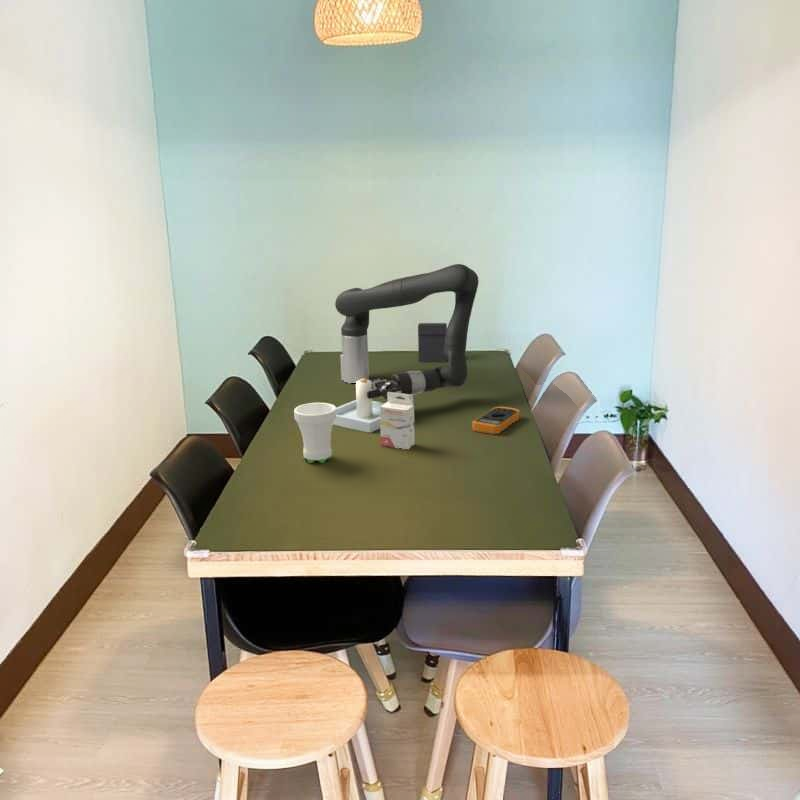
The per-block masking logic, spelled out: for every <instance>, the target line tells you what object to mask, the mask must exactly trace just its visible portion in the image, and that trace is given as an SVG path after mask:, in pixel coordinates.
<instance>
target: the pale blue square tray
mask: <svg viewBox="0 0 800 800" xmlns="http://www.w3.org/2000/svg"><path fill="white" fill-rule="evenodd" d="M385 403H386V402H381V401H374V400H372V410H373V416H372V417H371V418H367V419H361V418H358V417H357V402H356V399H355V400H351V401H350V402H347V403H344V404H341V405H340V406H338V407H337V406H336V418H335V420H334V423H333V426H338V427H342V428H346V429H351V430H354V431H355V430H356V431H361V432H363V433H364V432H366V433H368V432H369V433H368V434H370V433H373V432H375V431H377V430H380V429H381V424H380V406H382V405H383V404H385Z"/></svg>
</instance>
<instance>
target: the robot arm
mask: <svg viewBox="0 0 800 800" xmlns="http://www.w3.org/2000/svg"><path fill="white" fill-rule="evenodd" d="M478 288H479V276H478V274H477V273H476V272H475V270H473V269H472V268H470V267H469V266H467V265H465V264H461V263H455V264H452V265H447V266H446V267H443V268H440V269H437V270H435V271H434V270H433V271H431V272H427V273H426V272H425V273H420V274H419V273H418V274H415V275H411V276H410V275H409V276H405V277H400V278H396V279H392V280H389V281H386V282H383V283H380V284H378V285H375V286H372V287H369V288H366V289H362V288H360V287H354V288H349V289H347V290H344V291H342V292H341V293H339V294H338V296H337V297H336V299H335V305H334V306H335V310H336V311H337V312H338V313H339V314H340V315H341V316H344V317H345V320H344V323H343V324H342V326H341V328H340V331H341V333H340V334H341V348H342V349H341V351H342V352H341V353H342V354H340V377H341V379H340V380H341V381H342V380H343V381H342V382H344V383H346V382H347V383H346V384H351V383H356V381H358V380H360V379H362V378H365V379H367V380H370V381H371V382H372V391H368V392H367V398H369V399H371V398H372V399H376V398H381V399H382V398H383V399H385V400H388V399H387V392H393V393H402V394H409V395H413V396H415V395H419V394H421V393H426V392H431V391H435V390H437V389H442V388H455V387H456V388H458V387H461V386H463V385H464V384H465V382H466V381H467V378H468V363H467V362H468V361H467V356H466V350H467V343H468V342H467V340H468V331H469V325H470V320H471V319H470V318H471V315H472V310H473V308H474V307H473V306H474V302H475V299H476V296H477V295H476V294H477V291H478ZM447 292H452V293H454V297H455V302H454V303H455V305H454V310H453V312H452V315H451V318H450V320H449V322H448V324H447V331H446V336H445V345H444V346H445V347H444V354H445V356H447V359H448V365H443V366H442V365H441V366H438V367H435V368H426V369H420V370H411V371H410V370H409V371H403V372H398V373H397V372H396V373H393V374H391V376H390V377H389V380H388V379H383V377H378V378H370V372H369V371H370V370H369V369H370V368H369V344H368V339H369V338H368V328H369V325H370V311H372V310H381V309H390V308H391V309H392V308H396V307H398V308H399V307H403V306H408V305H414V304H416V303H419V302H420V301H422V300H424V299H426V298H428V297H430V296H431V295H435V294H439V293H447ZM354 391H355V392H356V384H354ZM400 398H402V397H401V396H399V397H396V399H400Z"/></svg>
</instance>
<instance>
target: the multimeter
mask: <svg viewBox="0 0 800 800" xmlns="http://www.w3.org/2000/svg"><path fill="white" fill-rule="evenodd" d="M520 415H521V411H520V409H517V408H514V407H508V406H496V407H492V409H490V410H489V411H487V412H486V413H484V414H482V415H481V416H480V417H478V418H476V419H474V420H473V421H472V423H471V425H472V430H473V431H474V432H475V431H476V433H481V432H482V434H487V433H489V434H488V435H493V434H498V435H499V434H500V433H502V432H503V431H504V430H505V429H508V427H509V425H510V426H511V425H513V424H515V423H516V422H517V421H519V419H520ZM515 421H516V422H515ZM512 423H513V424H512ZM501 431H502V432H501Z"/></svg>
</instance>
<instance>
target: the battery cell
mask: <svg viewBox="0 0 800 800" xmlns="http://www.w3.org/2000/svg"><path fill="white" fill-rule="evenodd" d="M370 380H371V379H369V380H367V379H365V378H362V379H360V380H358V381H356V384H355V385H356V391H355V397H356V398H355V400H356V402H357V417H358V418H361V419H367V418H371V417H372V416H373V410H372V401H373V398H371V399H369V398H367V392H368V391H372V382H371V381H370Z"/></svg>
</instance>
